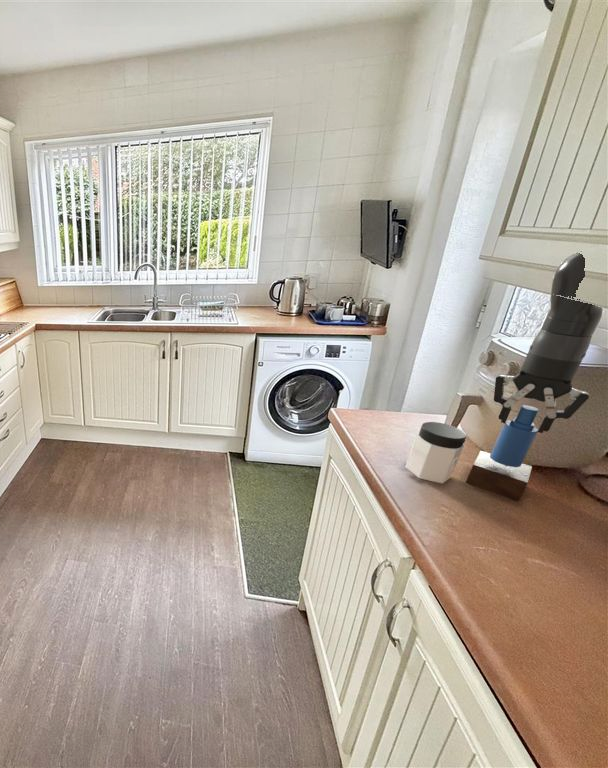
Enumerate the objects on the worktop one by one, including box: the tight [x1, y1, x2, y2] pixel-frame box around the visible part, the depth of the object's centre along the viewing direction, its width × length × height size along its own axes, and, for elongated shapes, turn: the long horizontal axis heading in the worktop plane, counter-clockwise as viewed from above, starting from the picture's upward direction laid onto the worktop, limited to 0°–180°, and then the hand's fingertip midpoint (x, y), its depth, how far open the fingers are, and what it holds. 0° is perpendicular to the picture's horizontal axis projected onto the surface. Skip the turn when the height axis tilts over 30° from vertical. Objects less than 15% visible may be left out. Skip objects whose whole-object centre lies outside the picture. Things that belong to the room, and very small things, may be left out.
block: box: [465, 450, 533, 502], centre depth 93 cm, size 9×9×5 cm
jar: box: [405, 421, 467, 485], centre depth 96 cm, size 9×8×12 cm
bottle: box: [490, 404, 539, 467], centre depth 89 cm, size 5×5×14 cm
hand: (521, 426), depth 88 cm, fingers closed on bottle, 5 cm apart
